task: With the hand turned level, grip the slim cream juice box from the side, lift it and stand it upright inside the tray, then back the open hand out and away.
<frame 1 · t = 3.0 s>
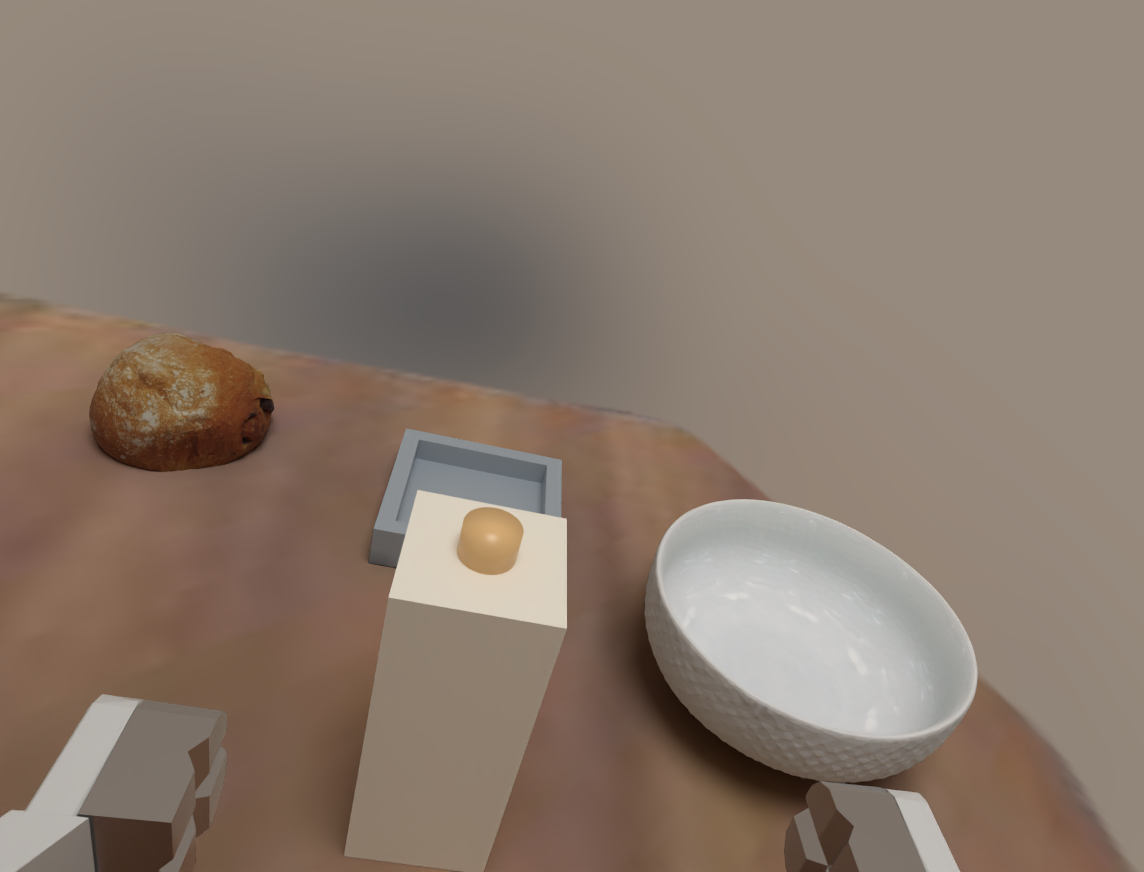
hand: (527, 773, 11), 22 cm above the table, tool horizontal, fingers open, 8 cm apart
juice box: (424, 801, 34), on the table
cereal bowl: (763, 691, 44), on the table
bread roll: (186, 431, 51), on the table
tray: (470, 522, 50), on the table
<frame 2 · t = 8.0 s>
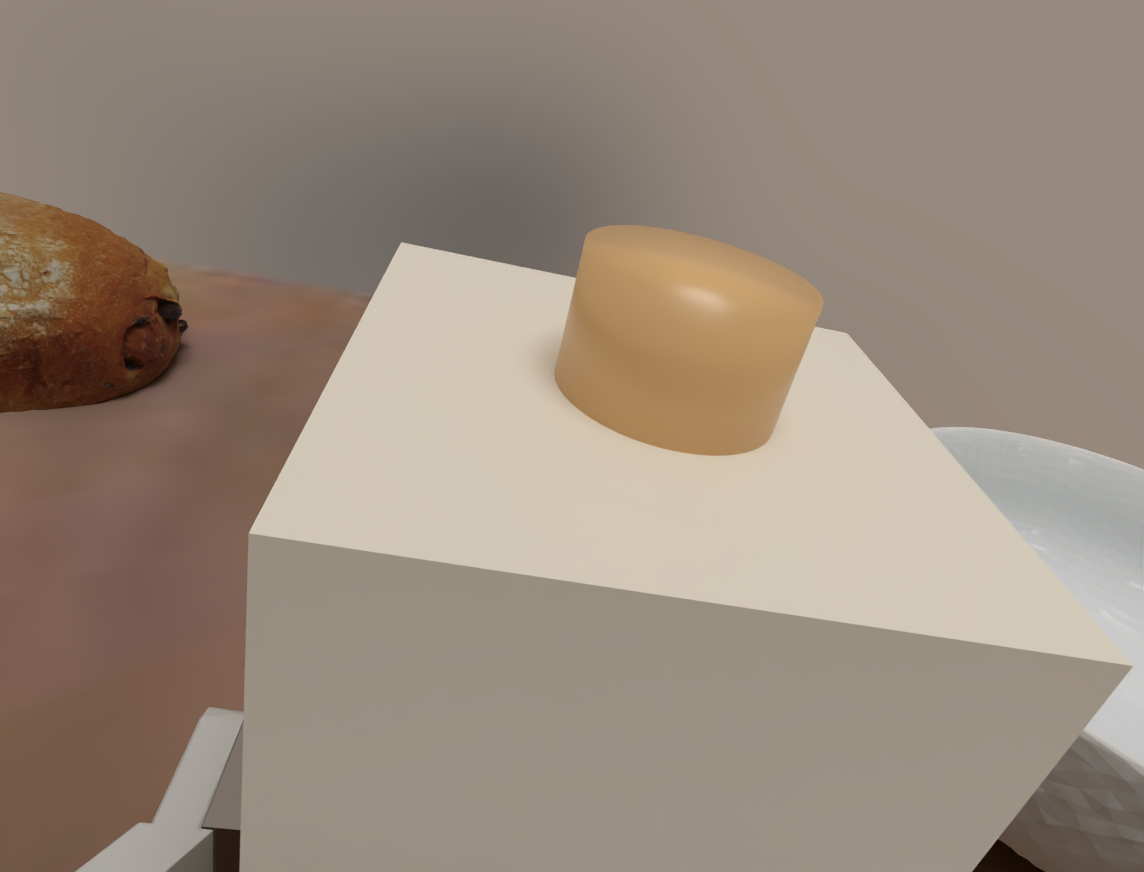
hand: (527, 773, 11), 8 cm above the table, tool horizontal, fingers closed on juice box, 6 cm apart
cereal bowl: (1041, 758, 25), on the table
bread roll: (42, 361, 32), on the table
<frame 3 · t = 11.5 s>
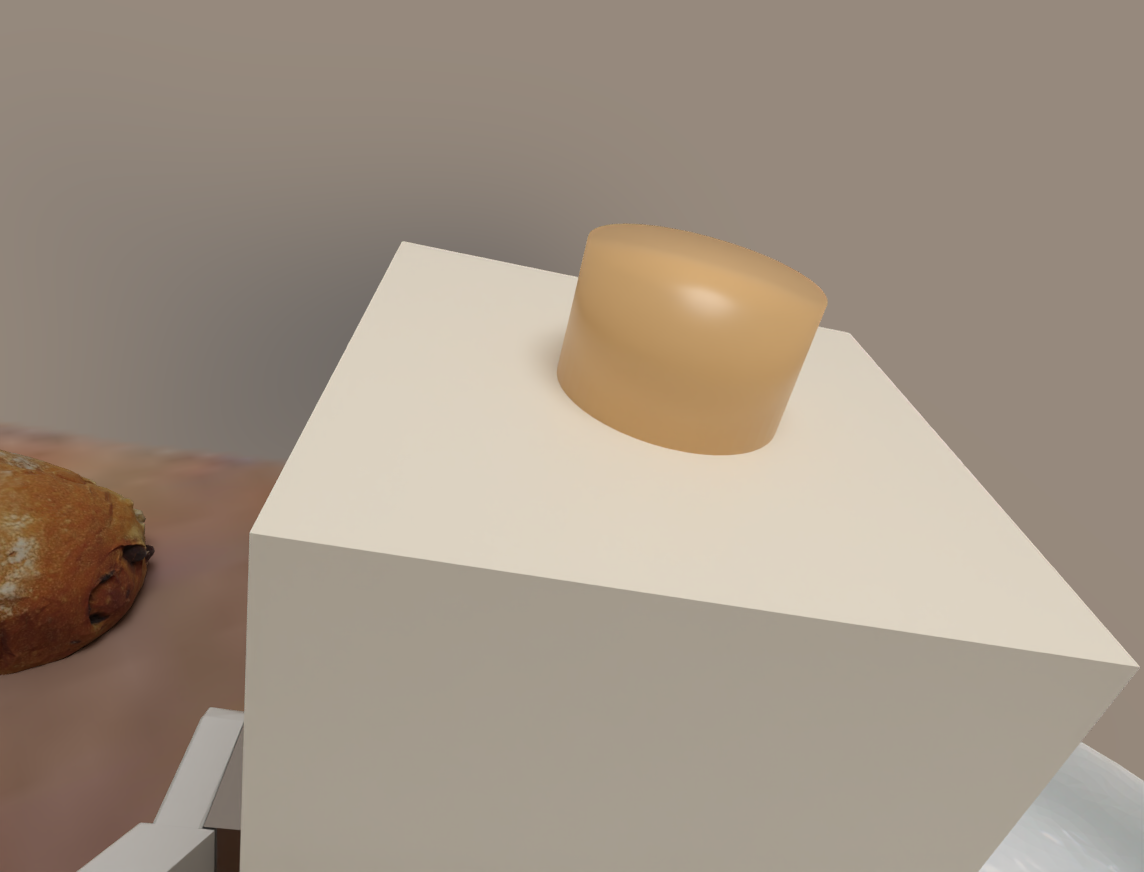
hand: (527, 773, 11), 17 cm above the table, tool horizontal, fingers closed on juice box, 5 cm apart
bread roll: (12, 600, 33), on the table
when the fingers open (10 cm above the table, at t = 14.9 s): juice box drops 1 cm, resting on tray.
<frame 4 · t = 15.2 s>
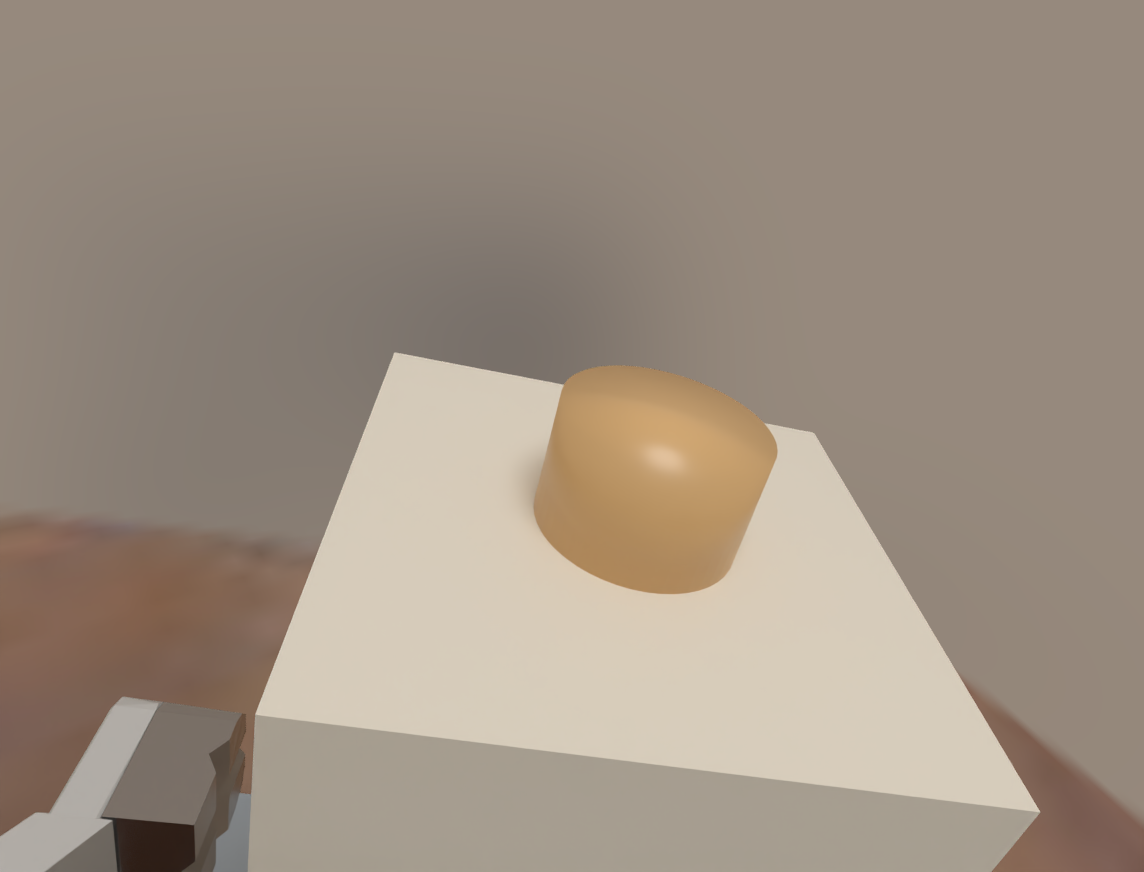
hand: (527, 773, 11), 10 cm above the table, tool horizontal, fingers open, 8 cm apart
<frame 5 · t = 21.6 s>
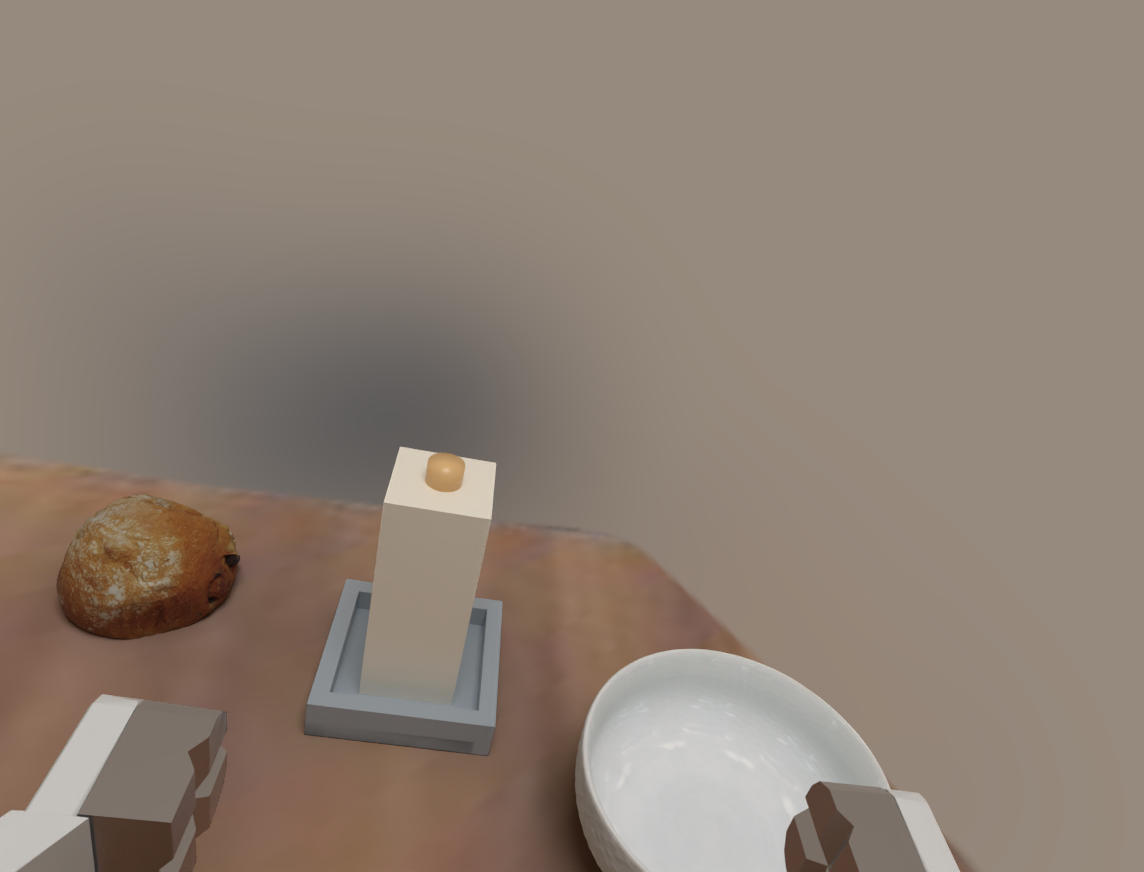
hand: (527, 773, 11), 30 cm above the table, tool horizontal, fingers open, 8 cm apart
juice box: (411, 665, 50), point 1 cm above the table, touching tray
cereal bowl: (699, 848, 45), on the table
bread roll: (154, 589, 52), on the table
tray: (410, 675, 50), on the table
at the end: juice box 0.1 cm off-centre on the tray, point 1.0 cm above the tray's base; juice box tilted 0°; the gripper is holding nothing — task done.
